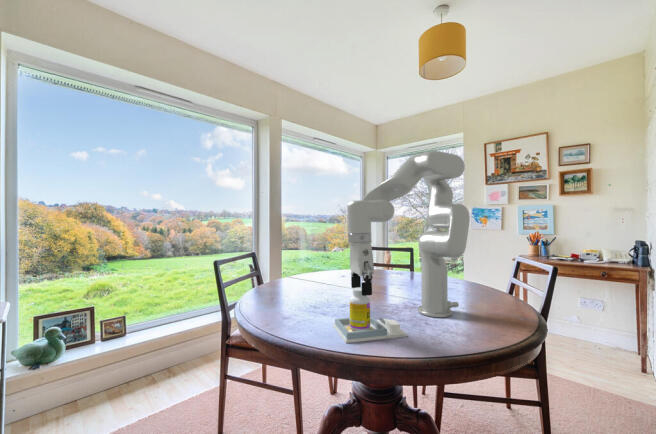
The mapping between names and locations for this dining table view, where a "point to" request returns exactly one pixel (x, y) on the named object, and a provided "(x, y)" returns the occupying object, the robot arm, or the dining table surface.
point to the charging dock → (376, 331)
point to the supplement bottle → (359, 311)
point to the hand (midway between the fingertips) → (361, 291)
